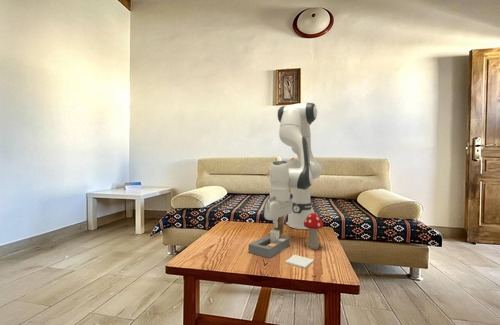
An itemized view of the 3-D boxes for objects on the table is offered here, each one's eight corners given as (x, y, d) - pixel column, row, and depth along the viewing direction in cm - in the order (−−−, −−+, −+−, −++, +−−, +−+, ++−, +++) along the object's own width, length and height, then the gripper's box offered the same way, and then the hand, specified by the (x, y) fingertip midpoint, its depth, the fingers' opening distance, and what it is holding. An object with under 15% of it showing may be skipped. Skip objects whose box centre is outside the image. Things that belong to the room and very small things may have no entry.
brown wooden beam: (282, 233, 110) (283, 212, 110) (279, 235, 107) (280, 213, 107) (277, 232, 112) (277, 211, 112) (274, 234, 109) (274, 212, 109)
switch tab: (273, 241, 109) (273, 229, 109) (279, 242, 107) (279, 230, 107) (270, 243, 106) (270, 230, 106) (276, 244, 105) (276, 232, 105)
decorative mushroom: (323, 251, 101) (324, 216, 101) (303, 249, 103) (303, 215, 103) (322, 244, 110) (323, 211, 110) (303, 242, 112) (303, 210, 112)
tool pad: (294, 256, 96) (294, 254, 96) (313, 261, 91) (313, 259, 91) (285, 262, 89) (285, 261, 89) (305, 268, 84) (305, 266, 84)
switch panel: (270, 241, 114) (270, 233, 114) (289, 245, 108) (289, 237, 108) (248, 252, 99) (248, 243, 99) (269, 258, 93) (269, 249, 93)
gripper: (273, 199, 99) (273, 232, 99) (295, 194, 116) (294, 223, 116) (261, 197, 103) (260, 229, 103) (283, 193, 120) (283, 221, 119)
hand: (278, 226), depth 109 cm, fingers closed on brown wooden beam, 3 cm apart
